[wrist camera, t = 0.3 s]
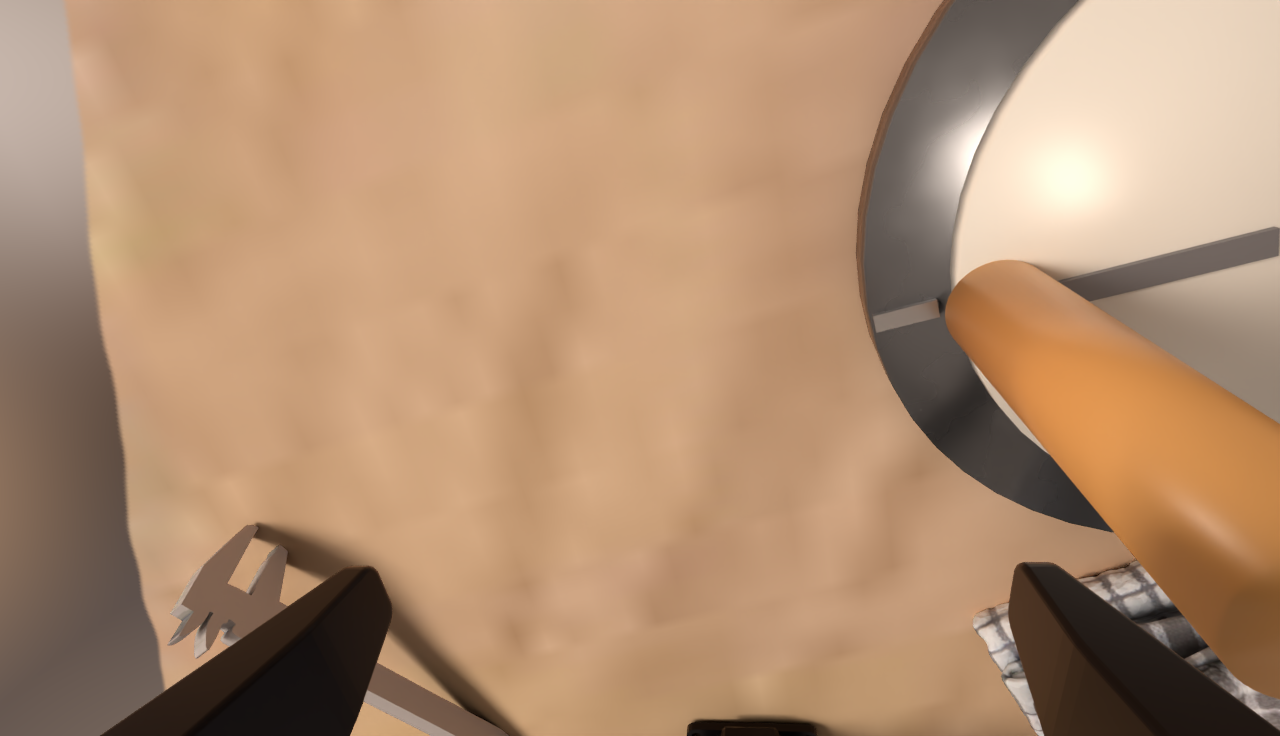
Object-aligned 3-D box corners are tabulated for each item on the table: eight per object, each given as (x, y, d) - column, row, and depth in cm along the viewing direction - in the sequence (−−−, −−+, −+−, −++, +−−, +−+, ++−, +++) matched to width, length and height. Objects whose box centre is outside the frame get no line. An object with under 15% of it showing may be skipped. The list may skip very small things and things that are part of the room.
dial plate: (1549, 496, 22) (1611, 528, 21) (861, 523, 26) (869, 552, 25) (2017, -430, 13) (2194, -500, 11) (847, -160, 17) (858, -183, 16)
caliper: (243, 526, 32) (136, 624, 26) (255, 516, 31) (149, 614, 26) (527, 761, 37) (489, 887, 31) (540, 755, 36) (504, 881, 30)
